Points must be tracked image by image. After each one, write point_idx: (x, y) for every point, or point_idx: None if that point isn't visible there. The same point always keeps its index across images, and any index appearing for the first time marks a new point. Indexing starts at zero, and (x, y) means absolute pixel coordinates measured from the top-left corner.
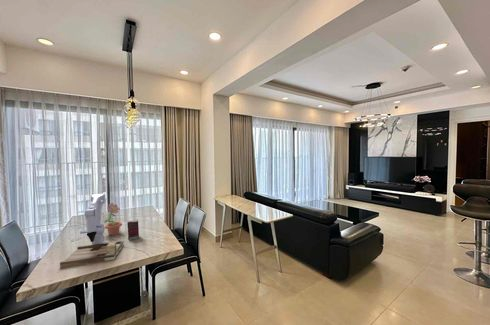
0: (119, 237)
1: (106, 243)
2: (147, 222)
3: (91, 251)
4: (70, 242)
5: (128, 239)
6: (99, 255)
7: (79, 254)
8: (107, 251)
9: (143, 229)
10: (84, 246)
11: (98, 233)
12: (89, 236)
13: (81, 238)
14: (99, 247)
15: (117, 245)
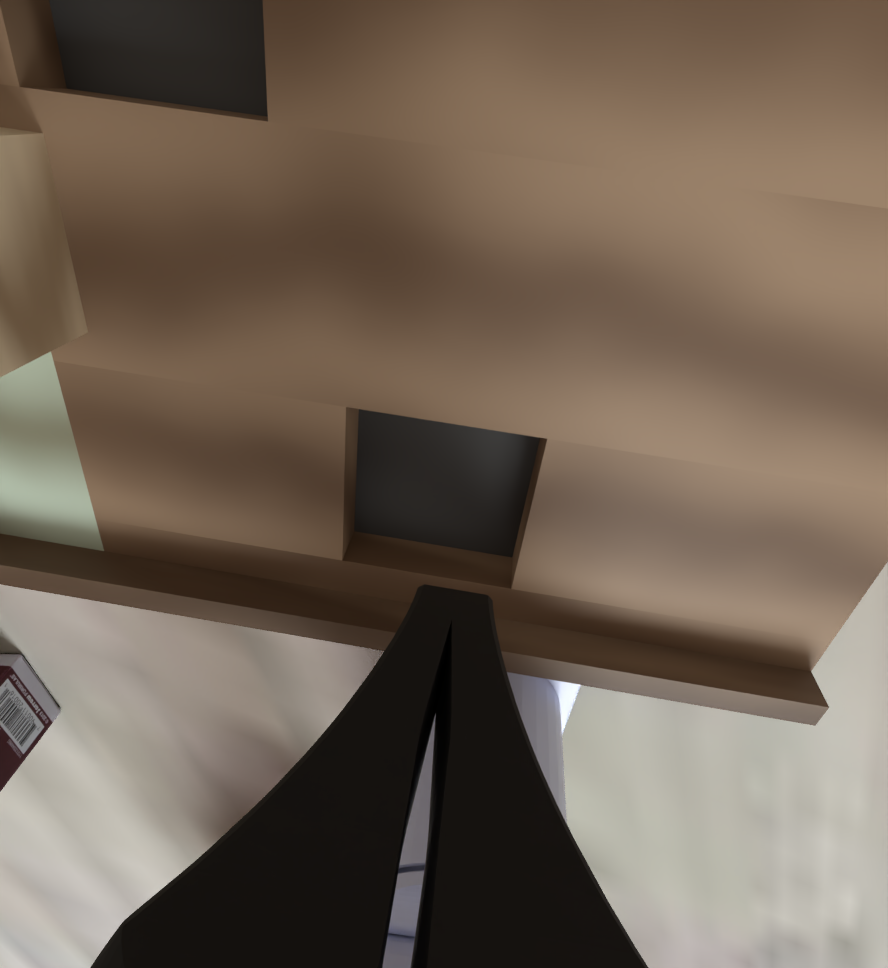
0: (226, 787)
1: (247, 607)
2: (70, 960)
3: (498, 407)
4: (877, 928)
5: (12, 662)
6: (248, 114)
7: (769, 360)
8: (15, 134)
9: (5, 848)
10: (684, 678)
11: (393, 960)
12: (508, 853)
13: (740, 956)
14: (387, 558)
15: (4, 460)
